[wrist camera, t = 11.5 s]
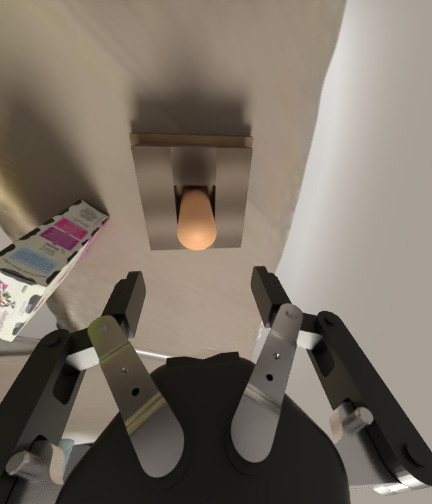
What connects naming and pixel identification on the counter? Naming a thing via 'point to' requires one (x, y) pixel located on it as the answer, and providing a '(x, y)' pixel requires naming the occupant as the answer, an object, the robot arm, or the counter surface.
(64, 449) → the teal embossed pot
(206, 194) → the wooden pin
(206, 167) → the socket block
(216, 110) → the counter surface
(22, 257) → the candy bar box
